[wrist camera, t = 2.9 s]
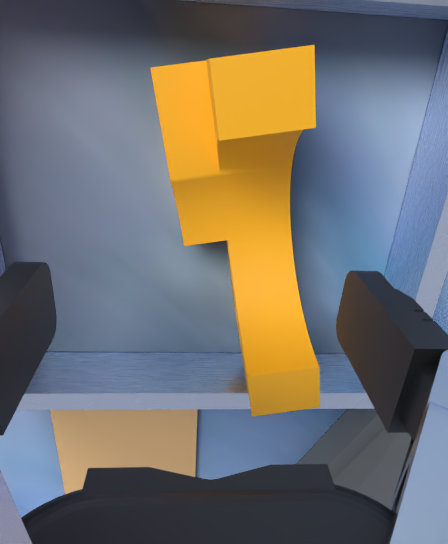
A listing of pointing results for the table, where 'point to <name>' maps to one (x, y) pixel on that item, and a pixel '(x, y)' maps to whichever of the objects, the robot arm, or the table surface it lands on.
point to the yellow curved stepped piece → (247, 200)
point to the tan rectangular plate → (124, 441)
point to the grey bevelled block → (362, 454)
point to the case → (229, 366)
